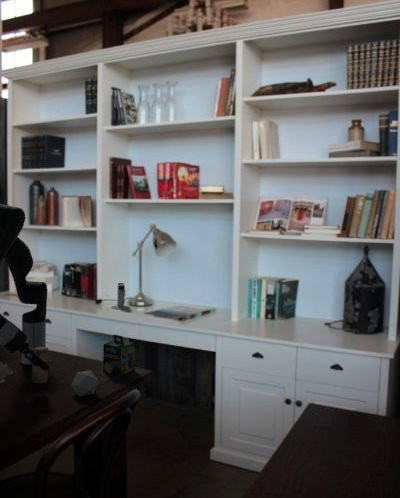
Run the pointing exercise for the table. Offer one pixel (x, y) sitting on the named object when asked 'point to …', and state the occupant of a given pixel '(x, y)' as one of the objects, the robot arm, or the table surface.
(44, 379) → the oak cylinder
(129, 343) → the chalk box
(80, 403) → the table surface
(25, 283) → the robot arm
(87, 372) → the die
